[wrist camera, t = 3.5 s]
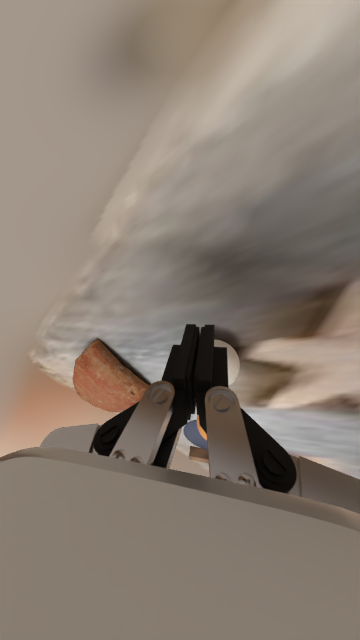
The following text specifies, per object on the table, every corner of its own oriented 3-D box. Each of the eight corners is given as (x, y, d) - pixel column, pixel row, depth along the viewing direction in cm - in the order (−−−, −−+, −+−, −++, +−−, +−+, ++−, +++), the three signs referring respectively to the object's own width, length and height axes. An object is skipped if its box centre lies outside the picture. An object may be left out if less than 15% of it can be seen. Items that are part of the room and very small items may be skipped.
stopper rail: (241, 456, 41) (242, 466, 40) (240, 459, 42) (241, 470, 41) (190, 446, 44) (189, 455, 43) (191, 449, 45) (189, 459, 44)
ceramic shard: (37, 384, 32) (88, 346, 26) (65, 362, 38) (111, 327, 32) (95, 437, 35) (151, 412, 29) (112, 409, 41) (162, 384, 35)
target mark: (264, 445, 37) (264, 446, 37) (215, 456, 44) (215, 457, 44) (215, 411, 34) (215, 412, 33) (171, 429, 41) (171, 430, 41)
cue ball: (248, 349, 24) (253, 388, 19) (215, 368, 27) (213, 405, 22) (215, 322, 23) (213, 356, 18) (185, 345, 26) (176, 379, 21)
